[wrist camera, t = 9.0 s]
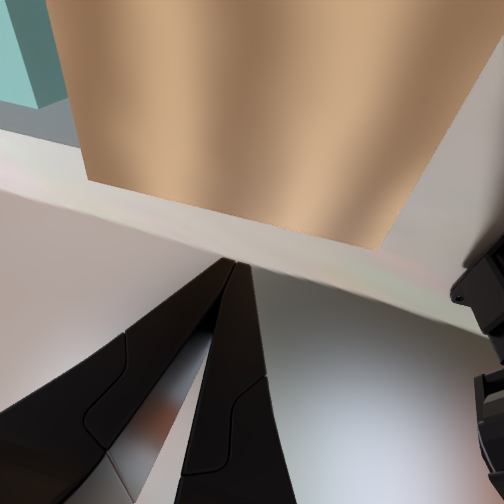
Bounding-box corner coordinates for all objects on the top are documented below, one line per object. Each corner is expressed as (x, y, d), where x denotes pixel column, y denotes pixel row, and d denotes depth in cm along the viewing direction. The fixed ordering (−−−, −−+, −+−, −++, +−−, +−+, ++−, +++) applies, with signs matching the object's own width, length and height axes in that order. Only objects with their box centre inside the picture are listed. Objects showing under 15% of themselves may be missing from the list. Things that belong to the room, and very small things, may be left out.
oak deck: (554, -161, 9) (658, -232, 6) (369, 210, 19) (376, 251, 16) (71, -245, 10) (-37, -344, 7) (125, 151, 19) (88, 179, 17)
